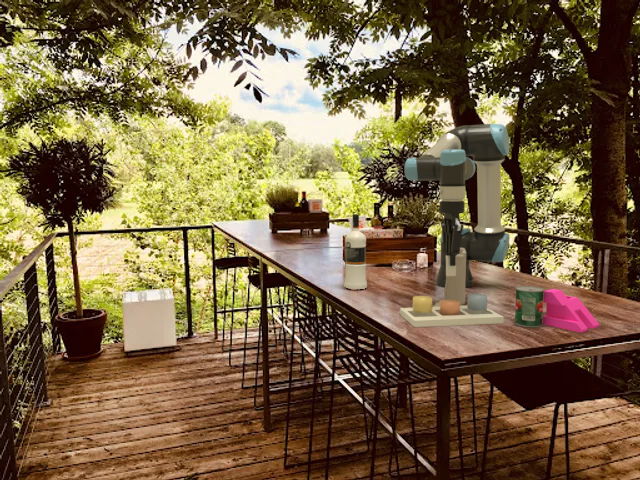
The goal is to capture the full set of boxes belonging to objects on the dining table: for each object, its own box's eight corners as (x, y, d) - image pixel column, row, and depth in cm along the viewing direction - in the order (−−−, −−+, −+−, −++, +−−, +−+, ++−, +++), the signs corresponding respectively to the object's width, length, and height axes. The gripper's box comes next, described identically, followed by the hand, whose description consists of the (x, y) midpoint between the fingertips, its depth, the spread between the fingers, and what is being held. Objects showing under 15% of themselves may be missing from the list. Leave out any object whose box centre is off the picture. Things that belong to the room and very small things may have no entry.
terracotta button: (437, 312, 174) (437, 299, 174) (455, 311, 175) (455, 299, 175) (444, 316, 169) (444, 304, 168) (462, 315, 169) (462, 303, 169)
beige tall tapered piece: (428, 305, 190) (429, 248, 188) (452, 299, 199) (453, 245, 197) (445, 309, 185) (446, 250, 182) (469, 302, 193) (470, 246, 191)
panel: (399, 314, 178) (399, 308, 178) (481, 310, 182) (481, 304, 182) (414, 327, 162) (414, 320, 162) (503, 323, 166) (503, 316, 166)
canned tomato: (510, 321, 169) (511, 286, 167) (535, 320, 169) (536, 285, 168) (521, 328, 161) (522, 291, 160) (547, 327, 161) (548, 290, 160)
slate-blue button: (464, 306, 175) (464, 294, 175) (482, 305, 176) (482, 293, 176) (472, 310, 170) (472, 298, 169) (490, 309, 170) (490, 297, 170)
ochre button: (410, 308, 173) (410, 296, 173) (428, 307, 174) (428, 295, 173) (416, 313, 167) (416, 300, 167) (434, 312, 168) (435, 299, 168)
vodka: (371, 289, 218) (371, 214, 214) (351, 291, 213) (351, 215, 210) (359, 285, 226) (359, 213, 222) (340, 287, 222) (339, 214, 218)
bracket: (542, 324, 165) (543, 291, 164) (560, 318, 171) (561, 286, 170) (581, 333, 155) (583, 297, 154) (599, 327, 162) (601, 293, 161)
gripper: (433, 199, 174) (432, 272, 177) (448, 201, 161) (446, 280, 164) (455, 199, 175) (454, 271, 178) (472, 201, 162) (470, 279, 165)
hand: (450, 275), depth 171 cm, fingers closed
